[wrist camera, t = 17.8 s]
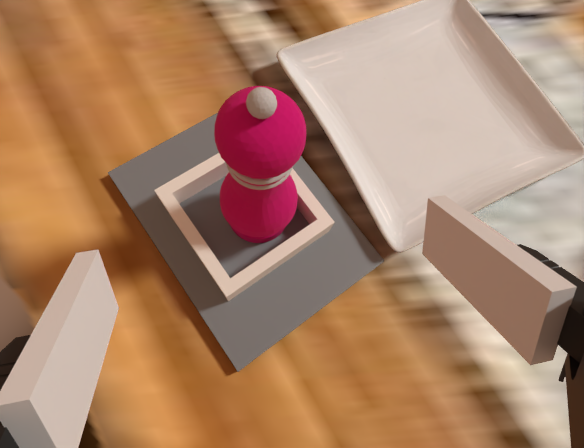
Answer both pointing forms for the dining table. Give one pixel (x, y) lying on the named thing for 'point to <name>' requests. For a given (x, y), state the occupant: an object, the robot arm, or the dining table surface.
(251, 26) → the dining table surface
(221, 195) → the pepper mill
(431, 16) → the square plate
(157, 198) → the caddy
